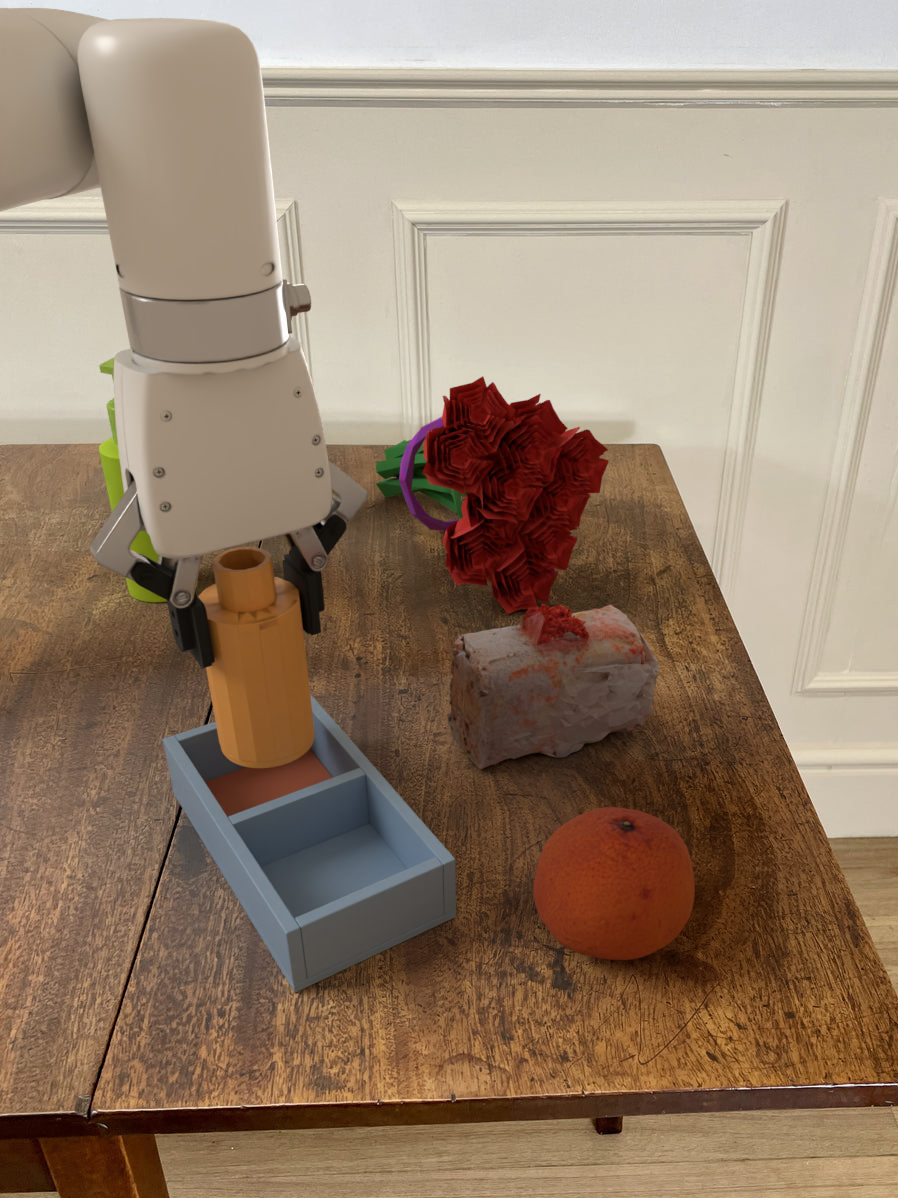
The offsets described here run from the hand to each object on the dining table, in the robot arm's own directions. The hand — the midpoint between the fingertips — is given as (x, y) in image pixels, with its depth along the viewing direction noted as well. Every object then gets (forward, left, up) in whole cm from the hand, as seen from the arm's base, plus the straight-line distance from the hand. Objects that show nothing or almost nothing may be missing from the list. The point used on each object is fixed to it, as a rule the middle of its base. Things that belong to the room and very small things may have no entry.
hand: (253, 637), depth 60 cm
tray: (0, -5, -13) cm, 14 cm away
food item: (+20, -3, -13) cm, 24 cm away
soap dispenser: (+4, +33, -13) cm, 36 cm away
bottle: (0, 0, -7) cm, 7 cm away
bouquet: (+30, +27, -13) cm, 43 cm away
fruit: (+12, -20, -13) cm, 27 cm away
